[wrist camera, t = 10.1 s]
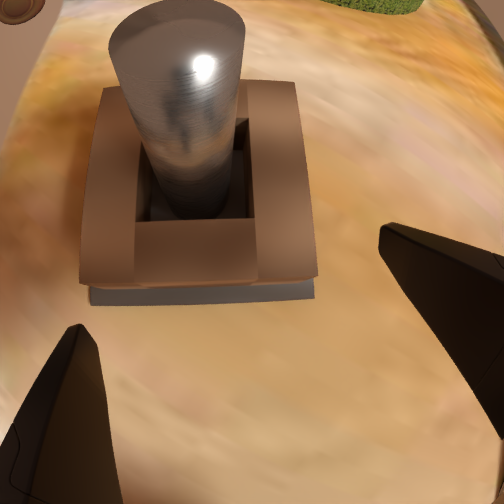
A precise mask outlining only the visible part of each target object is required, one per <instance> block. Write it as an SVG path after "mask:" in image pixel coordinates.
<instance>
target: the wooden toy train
mask: <svg viewBox="0 0 504 504" xmlns="http://www.w3.org/2000/svg"><path fill="white" fill-rule="evenodd" d="M44 4H45V0H0V21H1V22H3V23H4V24H9V25H16V24H21V23H24V22H26V21H28V20H30V19H32V18H33V17H35V16H36V15H37V14H38V13H39V12H40V11H41V9H42V8H43V6H44Z"/></svg>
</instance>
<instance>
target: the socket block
mask: <svg viewBox="0 0 504 504" xmlns="http://www.w3.org/2000/svg"><path fill="white" fill-rule="evenodd" d="M316 276H318V268H317V256H316V245H315V234H314V224H313V214H312V205H311V196H310V188H309V179H308V171H307V163H306V156H305V148H304V141H303V134H302V127H301V121H300V114H299V108H298V101H297V95H296V89H295V83H294V82H287V81H271V80H245V79H240V84H239V93H238V102H237V112H236V122H235V132H234V142H233V153H232V164H231V175H230V187H229V197H228V201H227V204H226V206H225V208H224V209H223V211H222V212H221V213H220V214H219V215H218V216H217V217H215V218H214V219H205V220H181V219H179V218H178V217H177V216H175V215H174V214H173V213H172V211H171V210H170V208H169V206H168V204H167V201H166V199H165V197H164V194H163V192H162V190H161V187H160V185H159V183H158V180H157V178H156V175H155V173H154V171H153V168H152V166H151V163H150V161H149V158H148V156H147V153H146V151H145V149H144V146H143V143H142V141H141V138H140V136H139V133H138V131H137V128H136V126H135V123H134V121H133V118H132V115H131V113H130V110H129V107H128V105H127V102H126V99H125V97H124V94H123V91H122V89H121V86H115V87H108V88H103V92H102V96H101V101H100V105H99V110H98V114H97V119H96V124H95V129H94V134H93V140H92V145H91V151H90V158H89V164H88V171H87V178H86V186H85V195H84V204H83V215H82V227H81V243H80V269H79V283H80V284H84V285H88V286H90V305H91V306H156V305H199V304H227V303H249V302H268V301H285V300H301V299H314V298H315V297H314V283H313V278H314V277H316Z"/></svg>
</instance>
